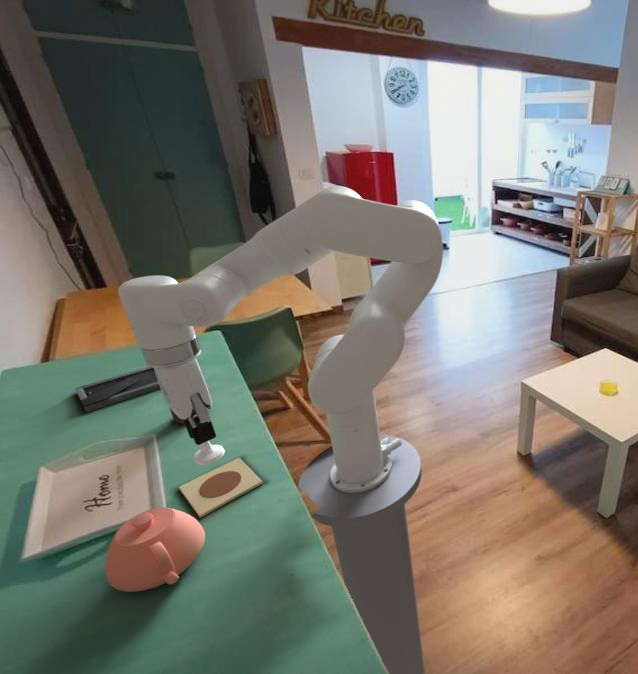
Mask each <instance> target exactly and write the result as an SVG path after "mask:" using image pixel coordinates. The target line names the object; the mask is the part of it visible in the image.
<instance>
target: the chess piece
mask: <svg viewBox="0 0 638 674" xmlns="http://www.w3.org/2000/svg"><path fill="white" fill-rule="evenodd" d="M196 416H197V414H196V415H194V416H193V418H194V417H196ZM225 452H226V450H225V449H224V447H223V446H222V445H219V444H211V442H210V440H209V441H207V442H204V443H202V444H200V449H199V450H197V451H196V452H195V453H194V455H193V458H192V459H193V463H194V464H195V465H199V466H203V465H204V466H205V465H209V464H210V465H211V464H213V463H214V462H217V461H218V460H221V458H222V457H223V456H224V455H225Z"/></svg>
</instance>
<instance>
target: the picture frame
mask: <svg viewBox="0 0 638 674" xmlns="http://www.w3.org/2000/svg"><path fill="white" fill-rule="evenodd" d="M74 390H75V392H76V394H77V395H78V397H79V400H80V401H81V404H82V406H83V408H84V410H85V412H86V413H89V412H92V411H97V410H99V409H102V408H105V407H108V406H112V405H114V404H117V403H120V402H123V401H126V400H129V399H133V398H135V397H139V396H141V395H145V394H147V393H151V392H154V391H157V390H161V389H160V386H159V383H158V380H157V377H156V374H155V371H154V368H152V367H148V366H146V367H143V368H140V369H137V370H132V371H130V372H125V373H122V374H119V375H116V376H113V377H109V378H106V379H102V380H99V381H95V382H92V383H88V384H85V385H81V386H78V387H75V388H74Z"/></svg>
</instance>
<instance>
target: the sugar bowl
mask: <svg viewBox="0 0 638 674" xmlns="http://www.w3.org/2000/svg"><path fill="white" fill-rule="evenodd" d="M205 541H206V532H205V530H204V528H203V526H202V525H201V523H200V522H199V521H198V520H197V519H196V518H195V517H193V516H192V515H190V514H189V513H187V512H184V511H182V510H179V509H175V508H171V507H156V508H152V509H148V510H145V511H142V512H140V513H138V514H136V515H135V516H133V517H131V518H130V519H128V520H127V521H126V522H125V523H123V524H122V525H121V526H120V528H118V529H117V530H116V532H115V534H114V536H113V538H112V539H111V542H110V543H109V547H108V549H107V553H106V556H105V563H104V569H105V575H106V579H107V581H108V583H109V585H110V586H111V587H113V588H114V589H116V590H118V591H121V592H130V593H131V592H143V591H148V590H151V589H154V588H157V587H160V586H163V585H164V584H168V585H173V584H175V583H177V582H178V580H179V578H180V576H179V575H181V574H182V573H184V571H186V570H187V569H188V568H189V567H190V566H191V565H192V564H193V562H194V561H195V560H196V559H197V557H198V556H199V554H200V553H201V551H202V549H203V547H204V545H205Z"/></svg>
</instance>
